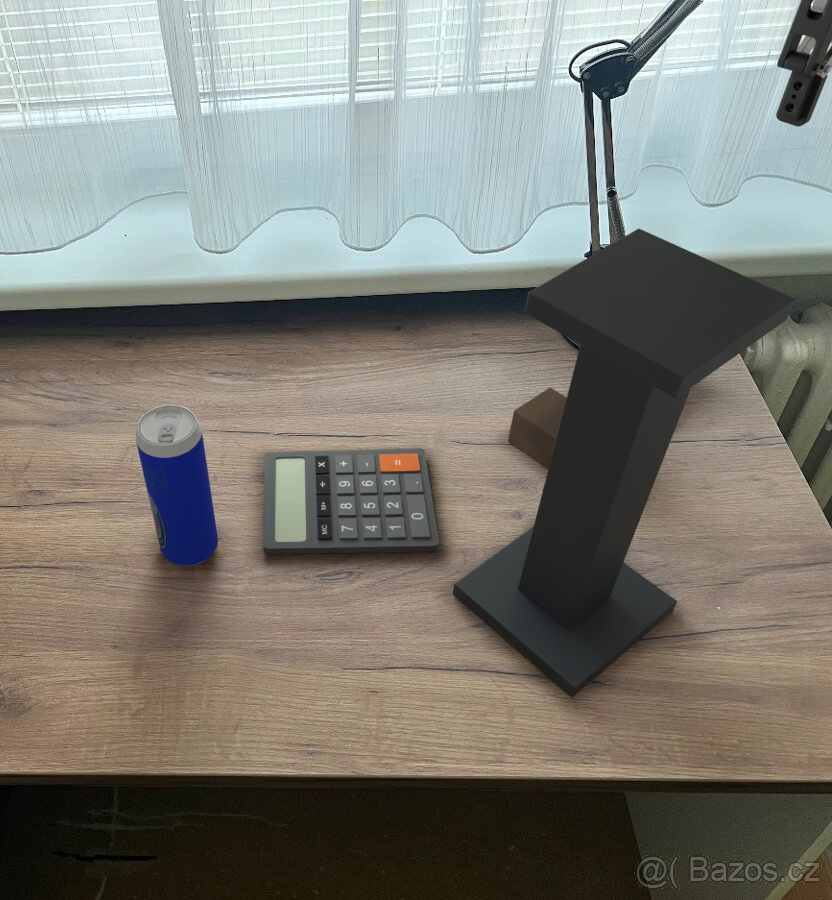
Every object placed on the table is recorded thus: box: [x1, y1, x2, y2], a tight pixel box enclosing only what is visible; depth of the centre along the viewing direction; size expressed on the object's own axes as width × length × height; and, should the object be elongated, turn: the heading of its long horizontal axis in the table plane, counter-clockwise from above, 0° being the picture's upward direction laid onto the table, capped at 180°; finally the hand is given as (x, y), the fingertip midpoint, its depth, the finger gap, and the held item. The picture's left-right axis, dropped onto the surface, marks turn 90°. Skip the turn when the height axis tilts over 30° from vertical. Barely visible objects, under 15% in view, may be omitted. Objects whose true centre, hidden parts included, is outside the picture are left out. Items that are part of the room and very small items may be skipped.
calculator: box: [262, 447, 440, 555], centre depth 79 cm, size 12×1×15 cm
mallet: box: [507, 387, 567, 470], centre depth 83 cm, size 8×19×4 cm, turn 125°
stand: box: [452, 228, 796, 699], centre depth 60 cm, size 12×12×30 cm
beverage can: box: [135, 404, 219, 567], centre depth 72 cm, size 5×5×15 cm
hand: (822, 104), depth 67 cm, fingers open, 8 cm apart
